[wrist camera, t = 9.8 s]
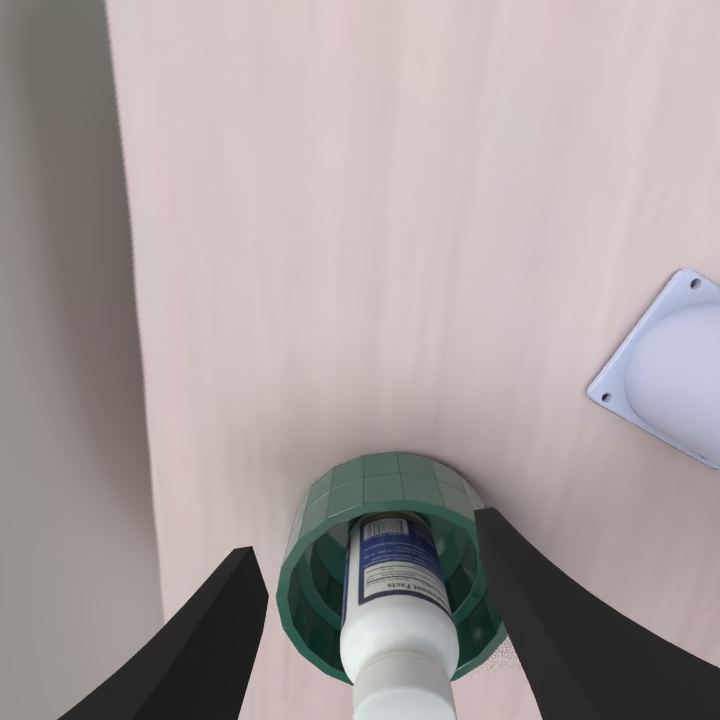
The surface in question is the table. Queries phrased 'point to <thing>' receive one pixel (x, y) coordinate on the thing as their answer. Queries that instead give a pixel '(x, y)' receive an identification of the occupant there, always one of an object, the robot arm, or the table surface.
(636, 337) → the robot arm
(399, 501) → the bowl
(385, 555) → the pill bottle
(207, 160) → the table surface
